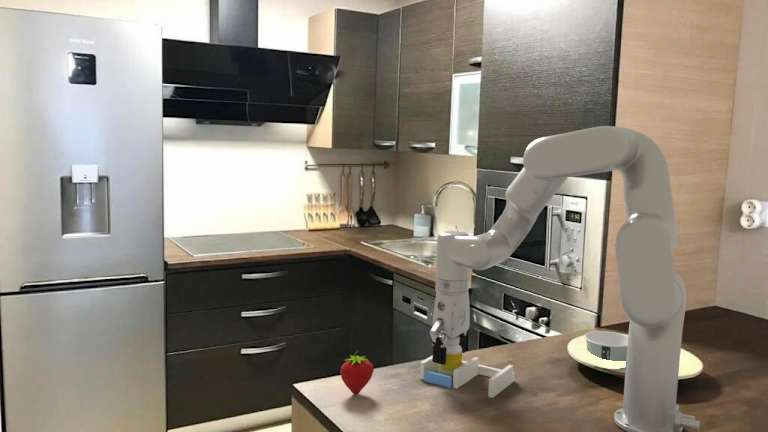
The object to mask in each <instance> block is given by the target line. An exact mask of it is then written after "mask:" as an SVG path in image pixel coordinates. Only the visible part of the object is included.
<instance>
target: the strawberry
mask: <svg viewBox="0 0 768 432" xmlns="http://www.w3.org/2000/svg"><path fill="white" fill-rule="evenodd" d="M357 353H358V350H357V351H356V352H355V353H354V354H353V355H351V354H349V357H350V358H346V359H344V361H345V362H344V363H343V364H342V365H341V367H340V371H339V374H340V377H341V380H342V382H343V383H344V385H345V386H346V387H347V388H348V390H349V391H350V392H351V393H352V394H353V395H358V394H360V392H362V390H363V389H364V388H365V386H367V384H368V383H369V382H370V380H371V379H372V377H373V374H374V371H375V369H374V365H373V363H371V361H369V359H368V358H367V355H365V356H359V355H356V354H357Z"/></svg>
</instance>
